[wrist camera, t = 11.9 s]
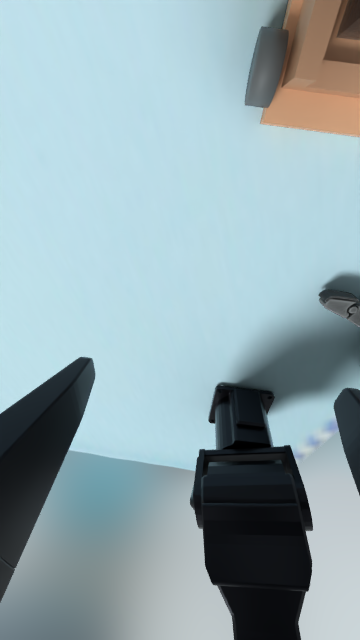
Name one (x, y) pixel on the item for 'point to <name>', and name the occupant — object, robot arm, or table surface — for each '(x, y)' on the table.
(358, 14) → the grey stepped cuboid
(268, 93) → the wheeled chassis
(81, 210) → the table surface
